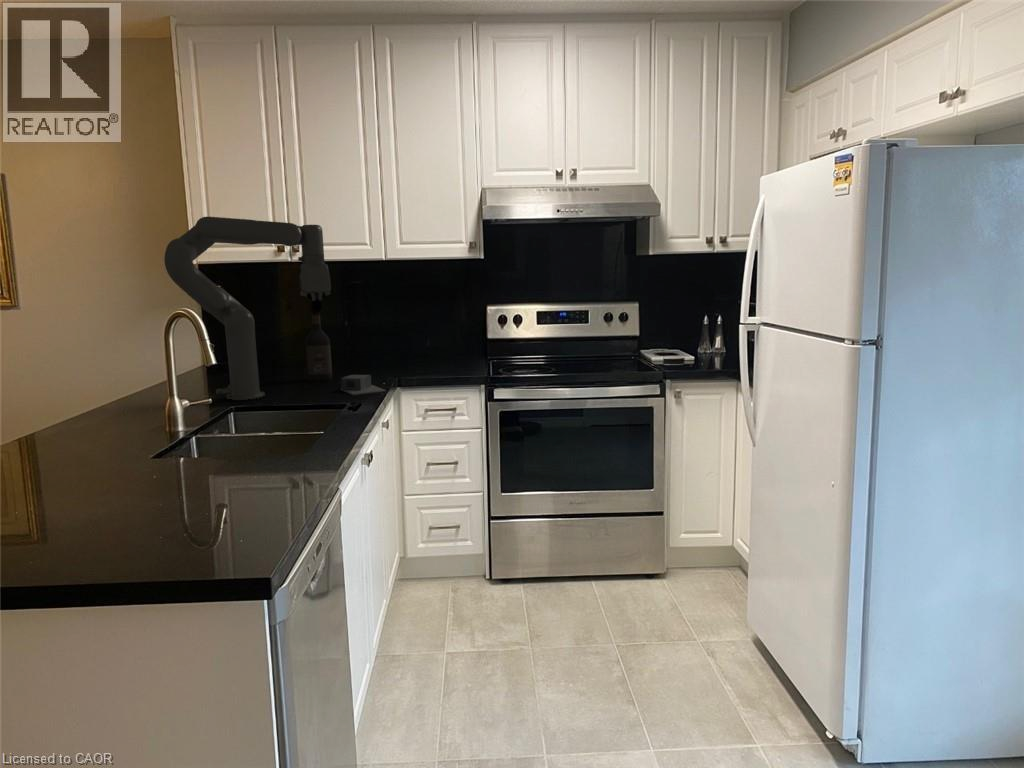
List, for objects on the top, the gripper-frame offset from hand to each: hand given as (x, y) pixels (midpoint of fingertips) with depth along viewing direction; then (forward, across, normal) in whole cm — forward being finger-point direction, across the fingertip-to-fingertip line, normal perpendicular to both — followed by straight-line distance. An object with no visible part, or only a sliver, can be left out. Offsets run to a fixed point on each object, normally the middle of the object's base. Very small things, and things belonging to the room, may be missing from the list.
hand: (316, 311), depth 250 cm
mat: (+29, +12, -9) cm, 33 cm away
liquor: (+29, +7, +27) cm, 40 cm away
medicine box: (+26, +8, -8) cm, 29 cm away
